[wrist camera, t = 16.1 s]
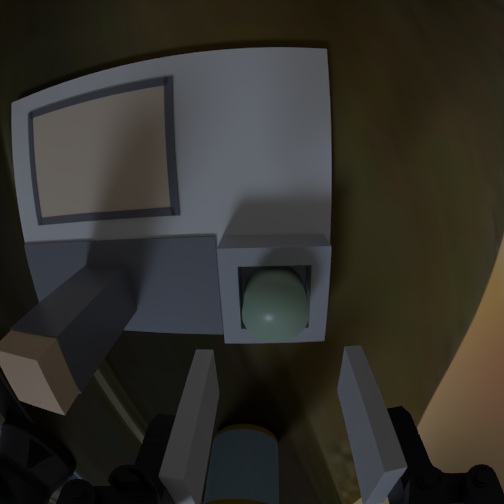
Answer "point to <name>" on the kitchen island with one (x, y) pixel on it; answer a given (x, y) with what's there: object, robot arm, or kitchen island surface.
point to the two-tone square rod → (67, 336)
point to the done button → (275, 304)
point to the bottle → (243, 466)
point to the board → (183, 182)
